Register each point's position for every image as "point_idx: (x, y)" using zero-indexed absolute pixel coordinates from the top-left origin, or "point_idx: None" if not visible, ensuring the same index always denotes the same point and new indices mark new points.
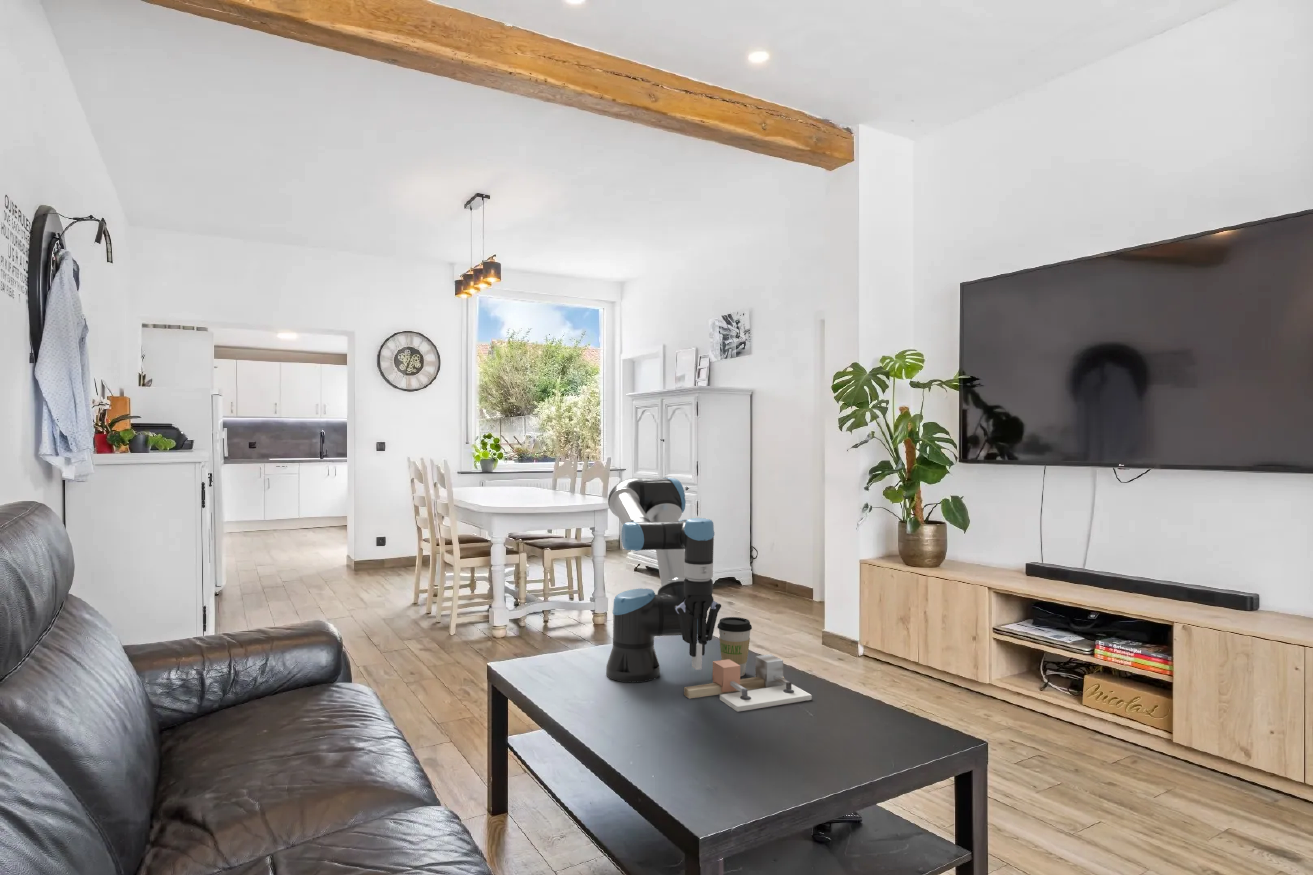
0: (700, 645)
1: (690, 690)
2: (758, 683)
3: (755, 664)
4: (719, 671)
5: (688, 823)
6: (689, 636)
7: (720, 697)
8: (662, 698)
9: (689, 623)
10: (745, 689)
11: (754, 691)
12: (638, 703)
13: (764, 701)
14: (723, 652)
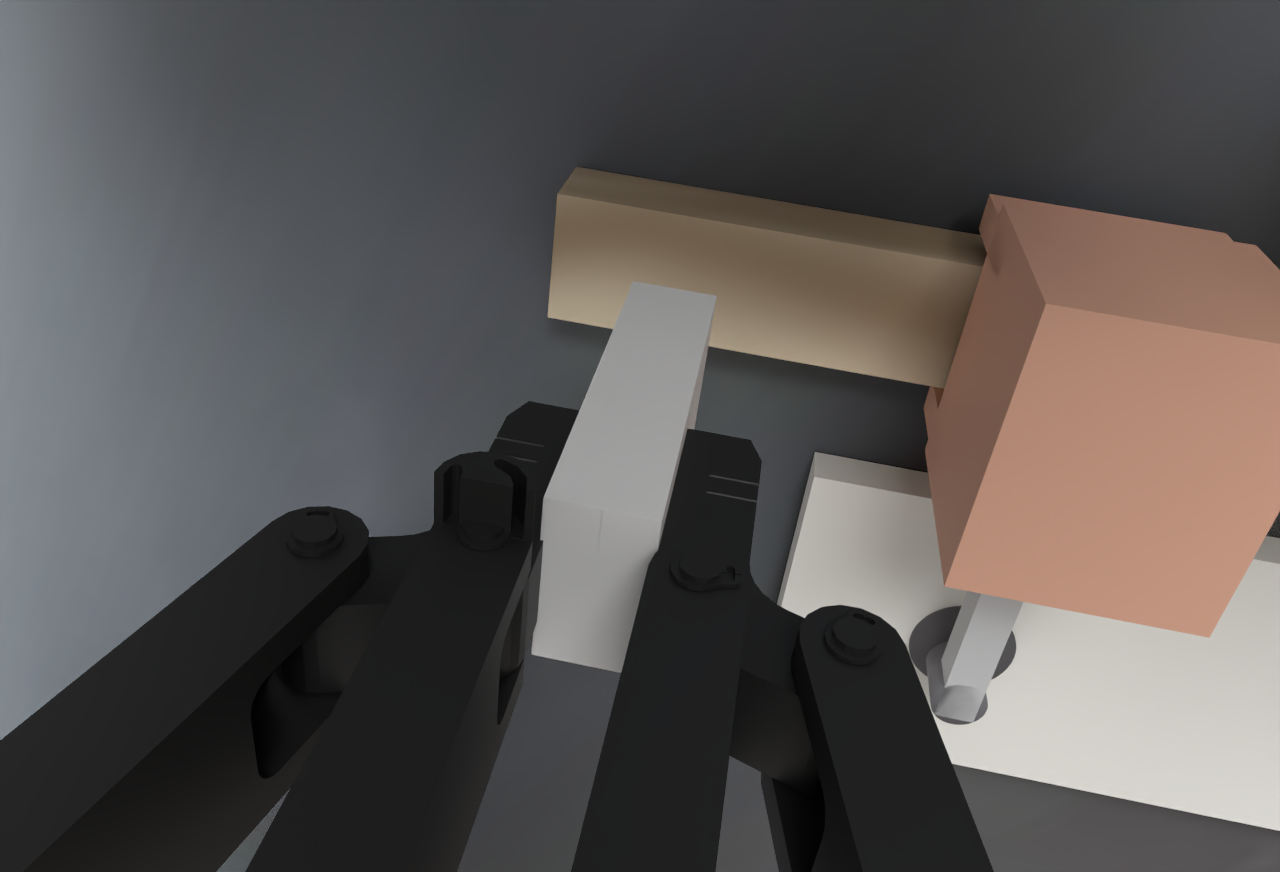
0: (603, 660)
1: (566, 313)
2: None
3: None
4: (966, 447)
5: None
6: (300, 755)
7: (810, 479)
8: (320, 132)
9: (259, 866)
10: (959, 711)
11: None
12: (51, 124)
13: (1031, 765)
14: None
